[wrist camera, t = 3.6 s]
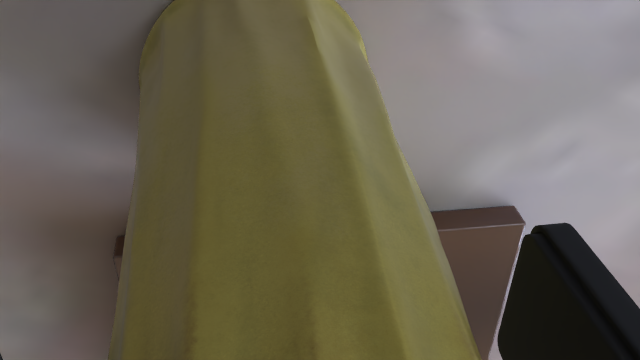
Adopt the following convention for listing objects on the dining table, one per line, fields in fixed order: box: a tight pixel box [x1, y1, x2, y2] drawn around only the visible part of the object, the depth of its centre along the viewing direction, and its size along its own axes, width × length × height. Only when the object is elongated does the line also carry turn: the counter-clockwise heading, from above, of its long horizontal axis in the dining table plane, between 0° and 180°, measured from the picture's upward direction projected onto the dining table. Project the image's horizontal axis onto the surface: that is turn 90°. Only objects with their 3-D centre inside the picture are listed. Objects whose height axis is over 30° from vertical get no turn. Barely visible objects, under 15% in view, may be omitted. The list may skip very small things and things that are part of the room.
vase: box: [108, 0, 482, 360], centre depth 11 cm, size 6×6×14 cm
